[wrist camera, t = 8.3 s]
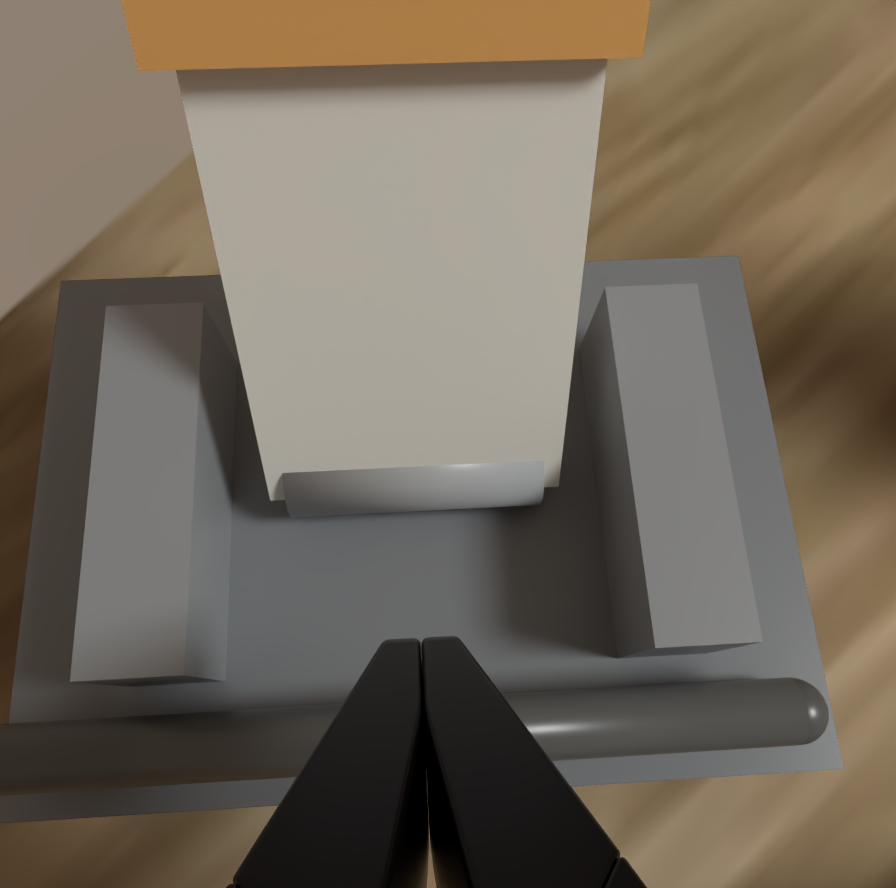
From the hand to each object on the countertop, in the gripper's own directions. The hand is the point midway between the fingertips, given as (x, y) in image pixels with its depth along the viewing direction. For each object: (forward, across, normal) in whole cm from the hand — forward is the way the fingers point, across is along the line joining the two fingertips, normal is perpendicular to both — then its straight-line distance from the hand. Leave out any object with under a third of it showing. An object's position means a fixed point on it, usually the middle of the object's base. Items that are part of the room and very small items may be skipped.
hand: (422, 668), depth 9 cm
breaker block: (+9, 0, +5) cm, 10 cm away
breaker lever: (+6, 0, +1) cm, 6 cm away
